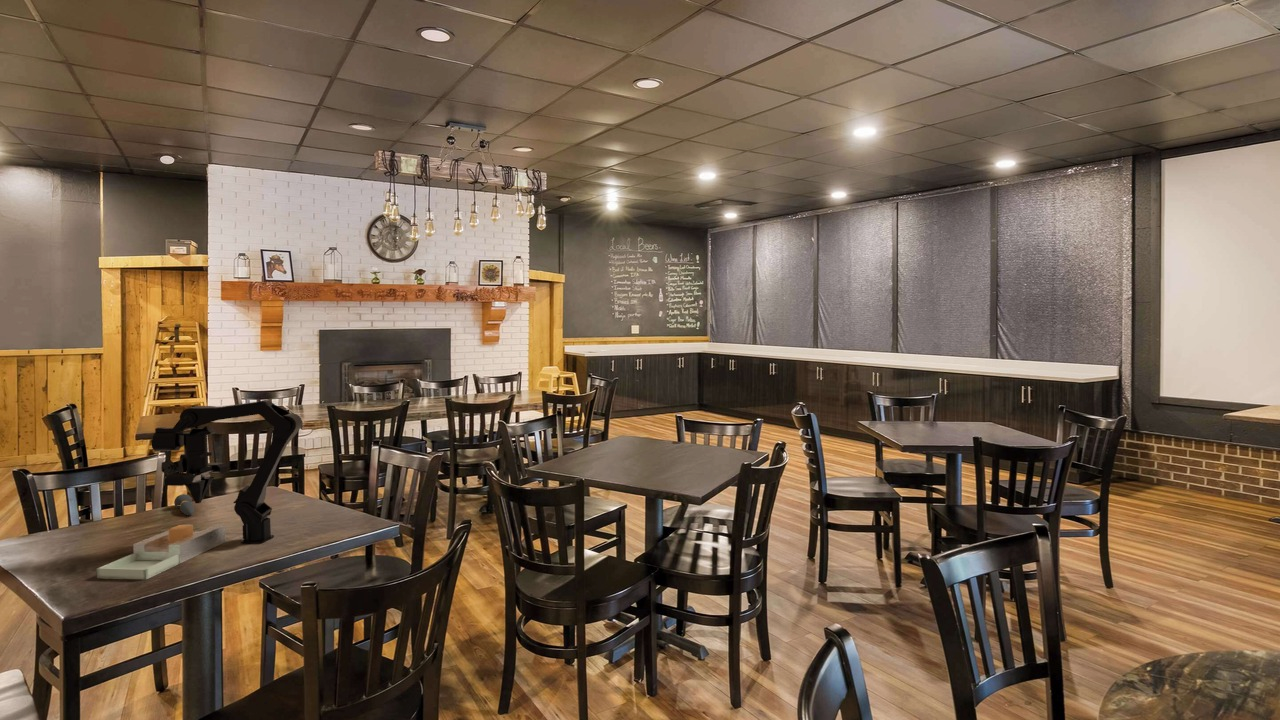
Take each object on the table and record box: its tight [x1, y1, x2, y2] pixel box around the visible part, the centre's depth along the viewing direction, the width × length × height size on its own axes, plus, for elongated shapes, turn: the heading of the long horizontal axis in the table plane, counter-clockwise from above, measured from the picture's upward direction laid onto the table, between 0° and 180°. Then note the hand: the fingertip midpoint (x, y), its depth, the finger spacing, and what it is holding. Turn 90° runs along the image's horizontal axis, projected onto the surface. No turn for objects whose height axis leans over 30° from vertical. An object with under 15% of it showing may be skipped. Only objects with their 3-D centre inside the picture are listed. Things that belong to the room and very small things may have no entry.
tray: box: [96, 553, 180, 580], centre depth 176 cm, size 13×11×2 cm
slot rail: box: [133, 524, 227, 564], centre depth 191 cm, size 13×18×5 cm
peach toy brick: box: [168, 524, 194, 543], centre depth 190 cm, size 4×4×4 cm
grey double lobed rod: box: [173, 493, 195, 516], centre depth 233 cm, size 20×5×5 cm, turn 47°
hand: (198, 503), depth 197 cm, fingers closed
